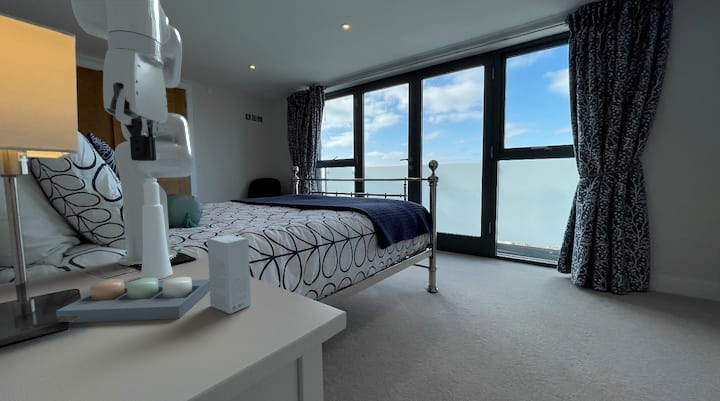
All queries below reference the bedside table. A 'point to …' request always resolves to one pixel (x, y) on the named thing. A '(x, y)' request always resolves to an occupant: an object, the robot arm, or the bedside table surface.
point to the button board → (135, 306)
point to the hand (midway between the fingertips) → (144, 160)
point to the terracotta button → (107, 290)
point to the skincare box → (229, 273)
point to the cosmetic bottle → (154, 235)
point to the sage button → (142, 288)
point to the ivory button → (177, 287)
